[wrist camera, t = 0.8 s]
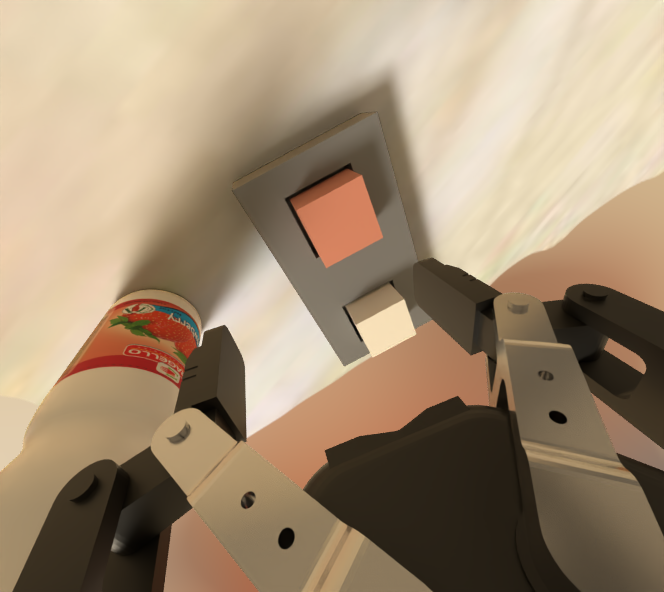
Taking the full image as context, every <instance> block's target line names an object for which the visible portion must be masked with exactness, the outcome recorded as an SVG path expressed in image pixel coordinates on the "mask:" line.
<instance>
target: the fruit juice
mask: <svg viewBox="0 0 664 592" xmlns="http://www.w3.org/2000/svg"><path fill="white" fill-rule="evenodd" d="M200 337H201V320H200V317H199V314H198V312H197V311H196V309H195V308H194V307H193V306H192V305H191V304H190V303H189V302H188V301H187V300H185V299H184V298H182V297H180V296H178V295H176V294H174V293H171V292H167V291H163V290H153V289H150V290H140V291H136V292H133V293H130V294H128V295H126V296H124V297H122V298H121V299H119V300H118V301H117V302H116V303H115V304H113V305H112V306H111V308H110V309H109V310H108V312H107V313H106V314H105V316H104V317H103V318H102V320H101V321H100V323H99V324H98V325H97V327H96V328H95V330H94V331H93V332H92V334H91V335H90V337H89V338H88V339H87V341H86V342H85V343H84V345H83V346H82V348H81V349H80V350H79V352H78V353H77V355H76V356H75V357H74V359H73V360H72V362H71V363H70V364H69V366H68V367H67V369H66V370H65V371H64V373H63V374H62V375H61V377H60V378H59V380H58V381H57V382H56V384H55V385H54V386H53V388H52V389H51V390H50V392H49V393H48V394H47V396H46V397H45V398H44V400H43V401H42V403H41V405H40V406H39V408H38V409H37V411H36V413H35V414H34V416H33V418H32V420H31V421H30V423H29V425H28V427H27V430H26V432H25V435H24V439H23V449H22V451H21V453H20V454H19V455H18V456H17V457H16V458H15V459H14V460H13V461H12V462H10V463H9V465H7V466H6V467H5V468H4V469H3V470H2V471H1V472H0V592H12V591H13V589H14V587H15V585H16V583H17V580H18V578H19V576H20V574H21V572H22V570H23V567H24V565H25V563H26V561H27V559H28V557H29V554H30V552H31V550H32V548H33V546H34V544H35V541H36V539H37V537H38V535H39V533H40V531H41V528H42V526H43V524H44V522H45V520H46V518H47V515H48V513H49V511H50V509H51V507H52V505H53V502H54V501H55V499H56V497H57V495H58V494H59V492H60V491H61V490H62V488H63V487H64V486H65V485H66V484H67V483H68V481H69V480H70V479H72V478H73V477H74V476H75V475H76V474H77V473H78V472H80V471H81V470H82V469H84V468H85V467H87V466H89V465H90V464H92V463H94V462H97V461H100V460H104V459H110V460H113V461H114V462H115V463H117V464H118V465H119V466H120V465H121V464H123V463H125V462H126V461H128V460H129V459H131V458H132V457H134V456H135V455H137V454H139V453H140V452H142V451H143V450H145V449H146V448H148V447H149V446H151V441H152V438H153V436H154V434H155V432H156V430H157V429H158V428H159V426H160V425H161V424H162V423H163V422H164V421H165V420H166V419H168V418H169V417H170V416H172V415H173V414H174V410H175V406H176V402H177V398H178V393H179V389H180V385H181V382H182V377H183V373H184V368H185V364H186V360H187V358H188V357H189V355H190V354H191V353H192V351H193V350H194V348H197V347H199V342H200Z"/></svg>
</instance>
